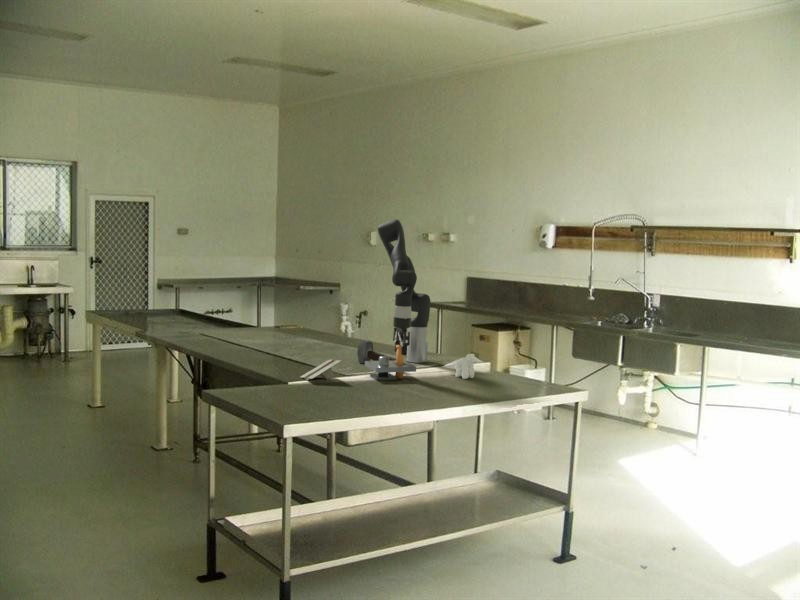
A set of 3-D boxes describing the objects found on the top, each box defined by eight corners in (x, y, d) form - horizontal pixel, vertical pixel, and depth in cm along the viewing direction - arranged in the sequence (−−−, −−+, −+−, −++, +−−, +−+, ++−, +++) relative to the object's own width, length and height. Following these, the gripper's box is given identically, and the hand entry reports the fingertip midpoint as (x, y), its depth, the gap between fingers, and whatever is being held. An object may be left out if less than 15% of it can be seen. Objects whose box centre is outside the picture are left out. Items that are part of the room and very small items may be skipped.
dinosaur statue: (477, 380, 363) (477, 355, 363) (437, 377, 380) (436, 352, 380) (487, 379, 368) (487, 354, 368) (447, 375, 385) (446, 351, 385)
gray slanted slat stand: (325, 394, 344) (350, 368, 349) (311, 378, 342) (337, 353, 347) (312, 392, 359) (336, 367, 364) (299, 377, 357) (323, 353, 362)
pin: (393, 376, 368) (394, 344, 367) (402, 376, 369) (403, 344, 368) (396, 378, 364) (397, 346, 363) (405, 378, 365) (407, 346, 364)
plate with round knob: (375, 381, 354) (376, 360, 353) (364, 374, 369) (365, 354, 368) (415, 380, 361) (416, 360, 360) (402, 373, 376) (403, 353, 375)
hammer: (405, 380, 380) (363, 361, 402) (409, 356, 378) (366, 338, 400) (397, 381, 377) (355, 361, 399) (401, 357, 375) (359, 339, 396)
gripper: (388, 314, 369) (387, 350, 371) (399, 318, 356) (398, 356, 358) (404, 314, 372) (403, 350, 373) (416, 318, 359) (414, 356, 360)
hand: (400, 353), depth 365 cm, fingers open, 8 cm apart
